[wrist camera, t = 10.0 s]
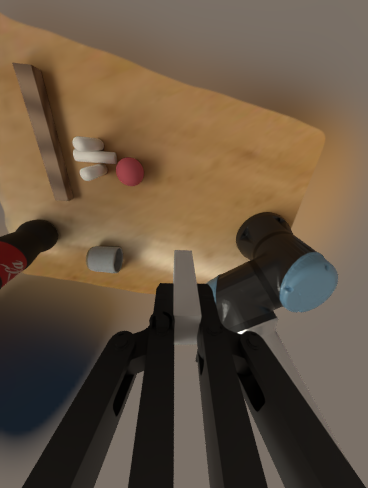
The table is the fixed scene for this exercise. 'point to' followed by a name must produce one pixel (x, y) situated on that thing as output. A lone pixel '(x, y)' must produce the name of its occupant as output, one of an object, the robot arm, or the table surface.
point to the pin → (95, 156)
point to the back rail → (44, 128)
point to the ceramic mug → (104, 259)
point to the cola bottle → (24, 247)
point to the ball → (129, 171)
